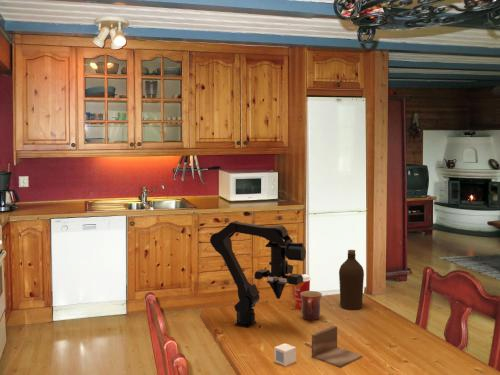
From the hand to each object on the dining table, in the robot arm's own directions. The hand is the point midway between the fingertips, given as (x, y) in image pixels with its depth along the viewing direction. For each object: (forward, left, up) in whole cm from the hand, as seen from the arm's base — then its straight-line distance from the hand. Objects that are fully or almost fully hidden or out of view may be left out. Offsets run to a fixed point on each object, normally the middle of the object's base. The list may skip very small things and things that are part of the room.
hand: (278, 298), depth 209 cm
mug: (+6, +16, -12) cm, 21 cm away
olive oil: (+14, +40, -12) cm, 44 cm away
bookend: (+30, -14, -12) cm, 35 cm away
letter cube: (+17, -26, -12) cm, 33 cm away
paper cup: (-4, +28, -12) cm, 31 cm away
